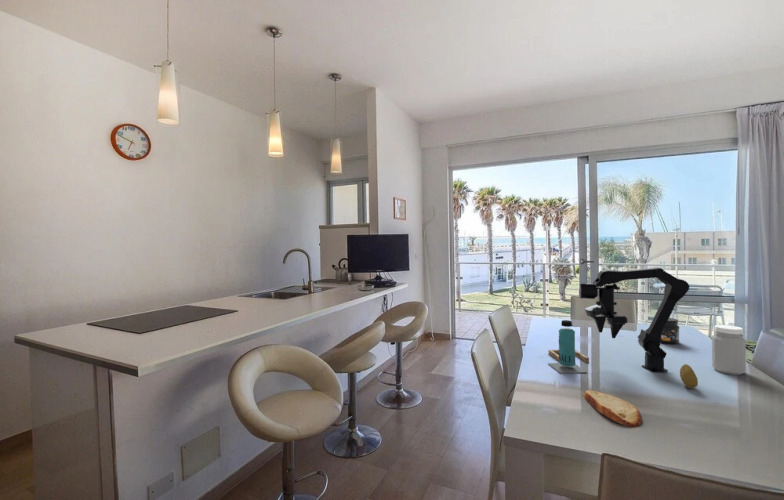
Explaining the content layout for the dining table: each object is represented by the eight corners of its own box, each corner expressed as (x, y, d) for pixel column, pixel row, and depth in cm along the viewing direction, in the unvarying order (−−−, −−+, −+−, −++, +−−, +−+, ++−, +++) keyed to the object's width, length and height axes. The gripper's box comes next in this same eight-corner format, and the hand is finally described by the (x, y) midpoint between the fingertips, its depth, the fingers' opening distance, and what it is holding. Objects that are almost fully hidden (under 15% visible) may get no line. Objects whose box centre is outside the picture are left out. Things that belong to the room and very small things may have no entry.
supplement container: (649, 340, 185) (649, 318, 185) (661, 338, 189) (660, 316, 189) (672, 345, 175) (672, 322, 175) (683, 342, 180) (683, 319, 180)
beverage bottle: (572, 364, 152) (571, 318, 151) (578, 370, 145) (578, 322, 145) (556, 364, 152) (555, 318, 152) (562, 370, 146) (561, 322, 145)
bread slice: (586, 393, 125) (585, 383, 125) (647, 408, 113) (647, 397, 113) (570, 412, 112) (570, 400, 112) (638, 431, 100) (638, 418, 100)
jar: (752, 376, 136) (752, 330, 135) (723, 375, 138) (723, 329, 137) (733, 367, 145) (733, 324, 145) (706, 366, 147) (706, 323, 147)
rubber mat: (586, 373, 143) (586, 371, 143) (560, 373, 143) (560, 372, 143) (573, 363, 154) (573, 362, 154) (548, 364, 154) (548, 363, 154)
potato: (693, 392, 123) (693, 370, 123) (670, 384, 130) (670, 363, 130) (707, 390, 125) (707, 367, 125) (684, 382, 132) (684, 361, 132)
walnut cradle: (588, 362, 155) (588, 357, 155) (561, 363, 155) (560, 358, 155) (574, 353, 168) (574, 349, 168) (548, 354, 168) (548, 349, 168)
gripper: (576, 296, 160) (576, 330, 161) (600, 303, 142) (601, 341, 142) (600, 295, 160) (601, 329, 161) (628, 302, 142) (628, 341, 142)
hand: (606, 335), depth 151 cm, fingers open, 9 cm apart
